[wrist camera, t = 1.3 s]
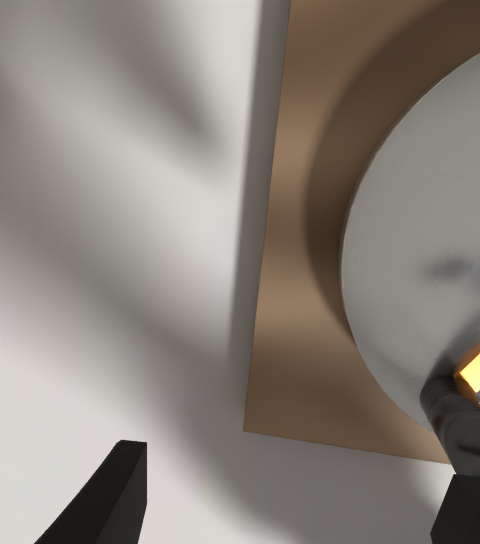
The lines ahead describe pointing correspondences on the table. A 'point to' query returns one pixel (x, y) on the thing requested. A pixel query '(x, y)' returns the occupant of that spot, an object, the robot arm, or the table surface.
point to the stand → (338, 212)
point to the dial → (422, 263)
